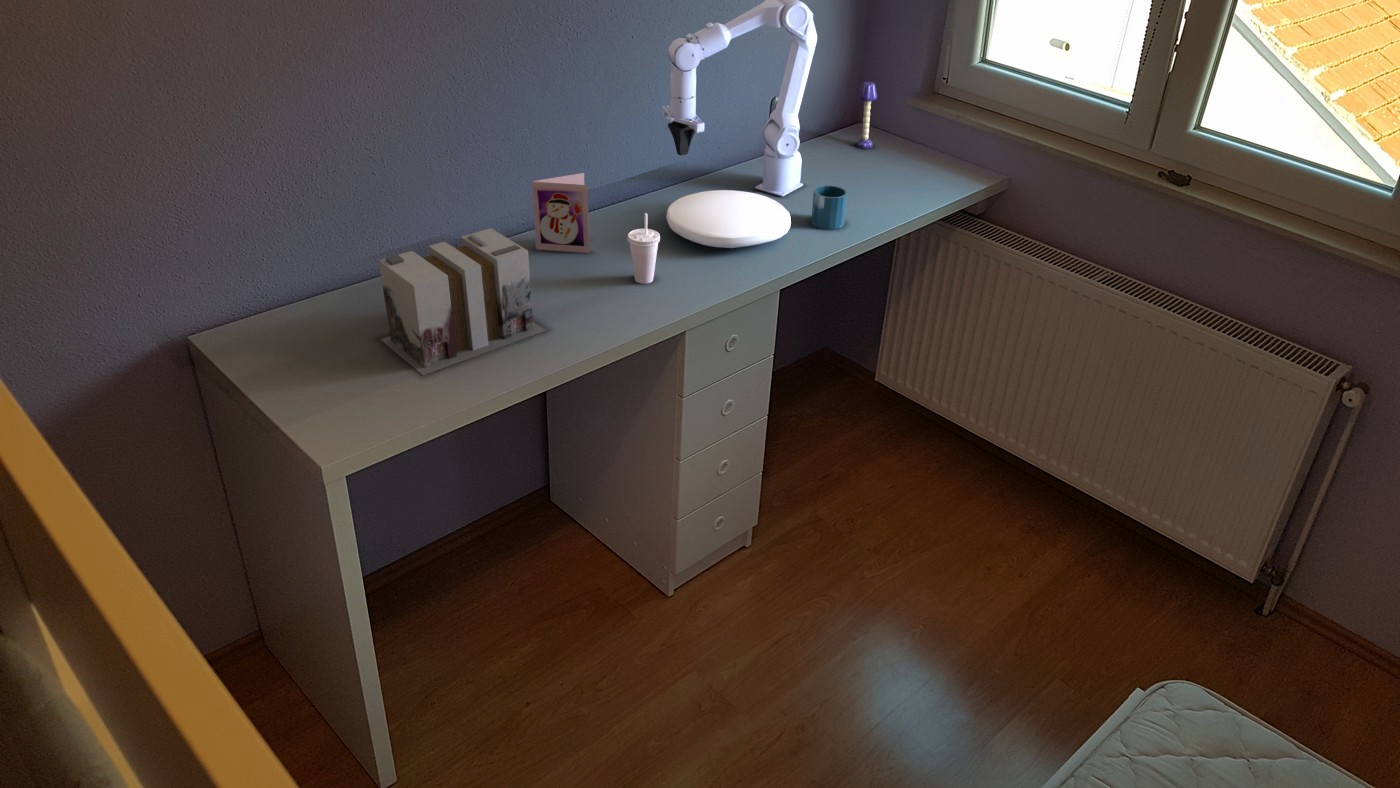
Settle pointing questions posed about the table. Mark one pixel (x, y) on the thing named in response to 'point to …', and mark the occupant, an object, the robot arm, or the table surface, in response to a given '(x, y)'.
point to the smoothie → (643, 252)
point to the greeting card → (561, 214)
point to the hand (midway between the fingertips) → (682, 154)
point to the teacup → (829, 207)
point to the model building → (457, 300)
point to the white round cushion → (728, 218)
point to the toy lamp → (866, 112)
